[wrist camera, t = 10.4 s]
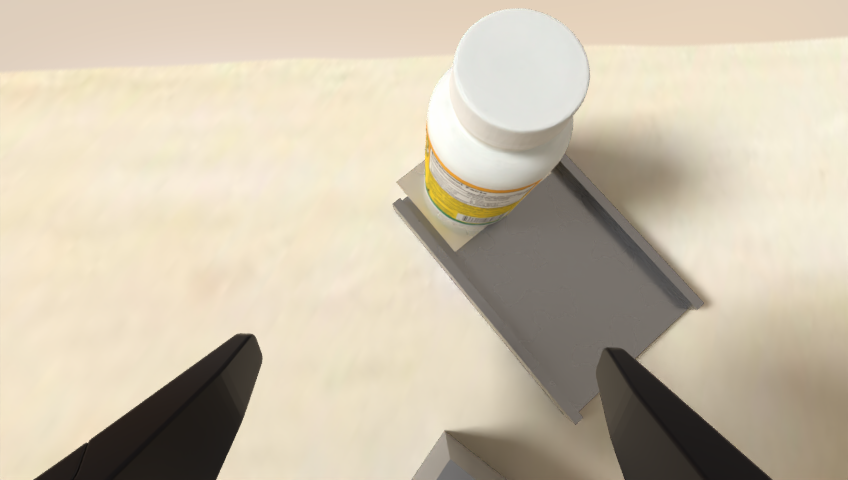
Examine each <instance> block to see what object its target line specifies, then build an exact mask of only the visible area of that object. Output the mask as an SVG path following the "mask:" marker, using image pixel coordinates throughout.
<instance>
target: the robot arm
mask: <svg viewBox="0 0 848 480" xmlns="http://www.w3.org/2000/svg"><path fill="white" fill-rule="evenodd" d="M261 364H262V353H261V350H260V347H259V345H258V342H257V339H256V337H255V336H254V335H253V334H243V333H240V334H236V335H235V336H233V337H232V338H230V339H229V340H228V341H226V342H225V343H223V344H222V345H221V346H219V347H218V348H217V349H215V350H214V351H212V352H211V353H210V354H208V355H207V356H205V357H204V358H203V359H201V360H200V361H199V362H197V363H196V364H194V365H193V366H192V367H190V368H189V369H187V370H186V371H185V372H183V373H182V374H181V375H179V376H178V377H176V378H175V379H174V380H172V381H171V382H169V383H168V384H167V385H165V386H164V387H163V388H161V389H160V390H158V391H157V392H156V393H154V394H153V395H151V396H150V397H149V398H147V399H146V400H144V401H143V402H142V403H140V404H139V405H138V406H136V407H135V408H133V409H132V410H131V411H129V412H128V413H126V414H125V415H124V416H122V417H121V418H120V419H118V420H117V421H115V422H114V423H113V424H111V425H110V426H108V427H107V428H106V429H104V430H103V431H101V432H100V433H99V434H97V435H96V436H95V437H93V438H92V439H90V440H89V442H88V443H85V444H83V445H82V446H81V447H79V448H78V449H76V450H75V451H74V452H72V453H71V454H69V455H68V456H67V457H65V458H64V459H62V460H61V461H60V462H58V463H57V464H55V465H54V466H52V467H51V468H50V469H48V470H47V471H45V472H44V473H42V474H41V475H40V476H38V477H37V478H35V479H34V480H216V479H217V477H218V474H219V472H220V470H221V468H222V465H223V463H224V461H225V459H226V456H227V454H228V452H229V450H230V448H231V445H232V443H233V441H234V439H235V436H236V434H237V432H238V430H239V427H240V425H241V423H242V420H243V418H244V415H245V412H246V409H247V406H248V403H249V400H250V397H251V394H252V391H253V388H254V385H255V382H256V379H257V376H258V373H259V370H260V367H261ZM596 379H597V384H598V388H599V392H600V396H601V400H602V405H603V409H604V413H605V417H606V422H607V426H608V430H609V434H610V438H611V441H612V444H613V447H614V450H615V453H616V456H617V459H618V462H619V465H620V467H621V470H622V473H623V476H624V479H625V480H772V479H771V478H770V477H769V476H768V475H767V474H766V473H764V472H763V471H762V470H761V469H760V468H759V467H758V466H756V465H755V464H754V463H753V462H752V461H751V460H750V459H748V458H747V457H746V456H745V455H744V454H743V453H742V452H740V451H739V450H738V449H737V448H736V447H735V446H734V445H732V444H731V443H730V442H729V441H728V440H727V439H726V438H725V437H723V436H722V435H721V434H720V433H719V432H718V431H717V430H715V429H714V428H713V427H712V426H711V425H710V424H709V423H707V422H706V421H705V420H704V419H703V418H702V417H701V416H699V415H698V414H697V413H696V412H695V411H694V410H693V409H691V408H690V407H689V406H688V405H687V404H686V403H685V402H683V401H682V400H681V399H680V398H679V397H678V396H677V395H676V394H674V393H673V392H672V391H671V390H670V389H669V388H668V387H666V386H665V385H664V384H663V383H662V382H661V381H660V380H658V379H657V378H656V377H655V376H654V375H653V374H652V373H650V372H649V371H648V370H647V369H646V368H645V367H644V366H642V365H641V364H640V363H639V362H638V361H637V360H636V359H634V358H633V357H632V356H631V355H630V354H629V353H628V352H627V351H625V350H624V349H622V348H614V347H606V348H604V349H603V351H602V354H601V356H600V359H599V362H598V365H597V367H596Z"/></svg>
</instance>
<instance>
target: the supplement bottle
mask: <svg viewBox="0 0 848 480" xmlns="http://www.w3.org/2000/svg"><path fill="white" fill-rule="evenodd" d="M589 80H590V70H589V63H588V59H587V55H586V53H585V50H584V48H583V46H582V45H581V43H580V41H579V40H578V39H577V38H576V36H575V34H574V33H573V32H572V31H571V30H570V29H569V28H568V27H566V26H565V25H564V24H563V23H561V22H560V21H558V20H557V19H555V18H553V17H551V16H549V15H547V14H544V13H542V12H538V11H534V10H530V9H519V8H518V9H506V10H501V11H497V12H494V13H491V14H489V15H487V16H485V17H483V18H481V19H480V20H479V21H477V22H476V23H475V24H473V26H471V27H470V28H469V29H468V31H467V32H466V33H465V34H464V36H463V37H462V39H461V40H460V42H459V45H458V47H457V50H456V53H455V56H454V61H453V66H452V67H451V68H450V69H449V70H448V71H447V72H446V73H445V74H444V75H443V76H442V77H441V79H440V80H439V82H438V83H437V85H436V87H435V89H434V91H433V93H432V96H431V99H430V102H429V107H428V113H427V126H426V149H425V188H426V192H427V195H428V197H429V200H430V201H431V203H432V205H433V206H434V207H435V209H436V210H437V211H438V212H439V213H440V214H441V215H443V216H444V217H445V218H447V219H448V220H450V221H452V222H454V223H457V224H460V225H464V226H470V227H480V226H486V225H490V224H493V223H495V222H497V221H499V220H501V219H503V218H504V217H505V216H507V215H508V214H509V213H510V212H511V211H512V210H513V209H514V208H515V207H516V206H517V205H518V204H519V203H520V202H521V201H522V200H523V199H524V198H525V197H526V196H527V195H528V194H529V192H530V191H531V190H532V189H533V188H534V187H535V186H536V185H537V184H538V183H539V182H540V181H541V180H542V179H543V178H544V177H546V176H547V175H548V174H549V173H550V172H551V171H552V169H553V168H554V167H555V166H556V165H557V164H558V163H559V161H560V160H561V159H562V157H563V155H564V154H565V152H566V150H567V147H568V145H569V142H570V139H571V135H572V130H573V115H574V114H575V113H576V111H577V110H578V109H579V107H580V106H581V104H582V102H583V101H584V98H585V96H586V93H587V90H588V86H589Z"/></svg>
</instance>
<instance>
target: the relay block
mask: <svg viewBox="0 0 848 480" xmlns="http://www.w3.org/2000/svg"><path fill="white" fill-rule="evenodd" d="M412 480H507V479H505V478H504V477H503V476H502V475H500V474H499V473H498V472H496V471H495V470H494V469H493V468H491V467H490V466H489V465H488V464H486V463H485V462H484V461H482V460H481V459H480V458H479V457H477V456H476V455H475V454H474V453H472V452H471V451H470V450H468V449H467V448H466V447H465V446H463V445H462V444H461V443H459V442H458V441H457V440H456V439H454V438H453V437H452V436H451V435H449V434H448V433H447V432H445V431H444V432H443V434H442V435H441V437H440V438H439V439H438V441H437V442H436V444H435V445H434V447H433V448H432V450H431V451H430V453H429V454H428V456H427V457H426V459H425V460H424V462H423V463H422V465H421V466H420V468H419V469H418V471H417V472H416V474H415V475H414V477H413V478H412Z"/></svg>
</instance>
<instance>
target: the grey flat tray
mask: <svg viewBox="0 0 848 480" xmlns="http://www.w3.org/2000/svg"><path fill="white" fill-rule="evenodd" d="M396 183H397V184H398V185H399V186H400V188H401V189H402V190H403V191H404V192H405V193H406V195H407V197H406V198H405V199H404V200H401V199H400V198H399V199H398V200H397V201H396V202H394V203H393V208H394V210H395V211H396V213H397V214H398V215H399V216H400V217H401V219H402V220H403V221H404V222H405V224H406V225H407V226H408V227H409V228H410V230H411V231H412V232H413V233H414V234H415V236H416V237H417V238H418V239H419V240H420V242H421V243H422V244H423V245H424V246H425V248H426V249H427V250H428V251H429V253H430V254H431V255H432V256H433V257H434V259H435V260H436V261H437V262H438V263H439V265H440V266H441V267H442V268H443V269H444V271H445V272H446V273H447V274H448V276H449V277H450V278H451V279H452V280H453V282H454V283H455V284H456V285H457V286H458V288H459V289H460V290H461V291H462V292H463V294H464V295H465V296H466V297H467V298H468V300H469V301H470V302H471V303H472V305H473V306H474V307H475V308H476V309H477V311H478V312H479V313H480V314H481V315H482V317H483V318H484V319H485V320H486V321H487V323H488V324H489V325H490V326H491V327H492V329H493V330H494V331H495V332H496V334H497V335H498V336H499V337H500V338H501V340H502V341H503V342H504V343H505V344H506V346H507V347H508V348H509V349H510V350H511V352H512V353H513V354H514V355H515V356H516V358H517V359H518V360H519V361H520V363H521V364H522V365H523V366H524V367H525V369H526V370H527V371H528V372H529V373H530V375H531V376H532V377H533V378H534V379H535V381H536V382H537V383H538V384H539V386H540V387H541V388H542V389H543V390H544V392H545V393H546V394H547V395H548V396H549V398H550V399H551V400H552V401H553V402H554V404H555V405H556V406H557V407H558V408H559V410H560V411H561V412H562V413H563V415H564V416H565V417H566V418H568V419H569V420H570V421H571V422H573V423H574V424H575V425H576V424H577V423H578V422H579V421H580V420H581V419H582V418H583V417H582V416H581V414H580V413H579V411H580V410H581V409H582V408H583V407H584V406H585V405H586V404H587V403H588V402H589V401H590V400H591V399H593V398H594V397H595V396H596V395H597V394H598V393H599V388H598V384H597V379H596V367H597V365H598V362H599V359H600V356H601V354H602V351H603V349H604V348H606V347H614V348H622V349H624V350H625V351H627V352H628V353H629V354H630V355H631V356H632V357H633V358H634V359H635V358H636V357H637V356H638V355H639V354H640V353H641V352H642V351H644V350H645V349H646V348H647V347H648V346H649V345H650V344H651V343H652V342H653V341H654V340H655V339H656V338H657V337H658V336H659V335H660V334H662V333H663V332H664V331H665V330H666V329H667V328H668V327H669V326H670V325H671V324H672V323H673V322H674V321H675V320H676V319H677V318H679V317H680V316H681V315H682V314H683V313H684V312H685V311H686V310H687V309H695V310H698V309H699V308H700V307H701V306H702V305H703V304H704V302H703V301H702V300H701V299H700V298H699V297H698V296H697V295H696V294H695V293H694V292H693V291H692V290H691V288H690V287H689V286H688V285H687V284H686V283H685V282H684V281H683V280H682V279H681V278H680V277H679V276H678V274H677V273H676V272H675V271H674V270H673V269H672V268H671V267H670V266H669V265H668V264H667V263H666V262H665V261H664V259H663V258H662V257H661V256H660V255H659V254H658V253H657V252H656V251H655V250H654V249H653V248H652V247H651V245H650V244H649V243H648V242H647V241H646V240H645V239H644V238H643V237H642V236H641V235H640V234H639V233H638V231H637V230H636V229H635V228H634V227H633V226H632V225H631V224H630V223H629V222H628V221H627V220H626V219H625V217H624V216H623V215H622V214H621V213H620V212H619V211H618V210H617V209H616V208H615V207H614V206H613V205H612V204H611V202H610V201H609V200H608V199H607V198H606V197H605V196H604V195H603V194H602V193H601V192H600V191H599V190H598V188H597V187H596V186H595V185H594V184H593V183H592V182H591V181H590V180H589V179H588V178H587V177H586V176H585V174H584V173H583V172H582V171H581V170H580V169H579V168H578V167H577V166H576V165H575V164H574V163H573V162H572V161H571V159H570V158H569V157H568V156H567V155H566V154H564V155H563V157H562V159H561V160H560V161H559V163H558V164H557V165H556V166H555V167H554V168H553V169H552V171H551V172H550V173H549V174H548V175H547V176H546V177H544V178H543V179H542V180H541V181H540V182H539V183H538V184H537V185H536V186H535V187H534V188H533V189H532V190H531V191H530V192H529V194H528V195H527V196H526V197H525V198H524V199H523V200H522V201H521V202H520V203H519V204H518V205H517V206H516V207H515V208H514V209H513V210H512V211H511V212H510V213H509V214H508V215H507V216H505V217H504V218H503V219H501V220H499V221H497V222H495V223H493V224H490V225H486V226H480V227H470V226H464V225H460V224H457V223H454V222H452V221H450V220H448V219H447V218H445V217H444V216H443V215H441V214H440V213H439V212H438V211H437V210H436V209H435V207H434V206H433V205H432V203H431V201H430V200H429V197H428V195H427V192H426V188H425V160H424V161H423V162H422V163H420V164H419V165H418V166H416V167H415V168H414V169H412V170H411V171H410V172H409V173H407V174H406V175H405V176H403V177H402V178H401V179H399V180H398V181H397V182H396Z"/></svg>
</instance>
